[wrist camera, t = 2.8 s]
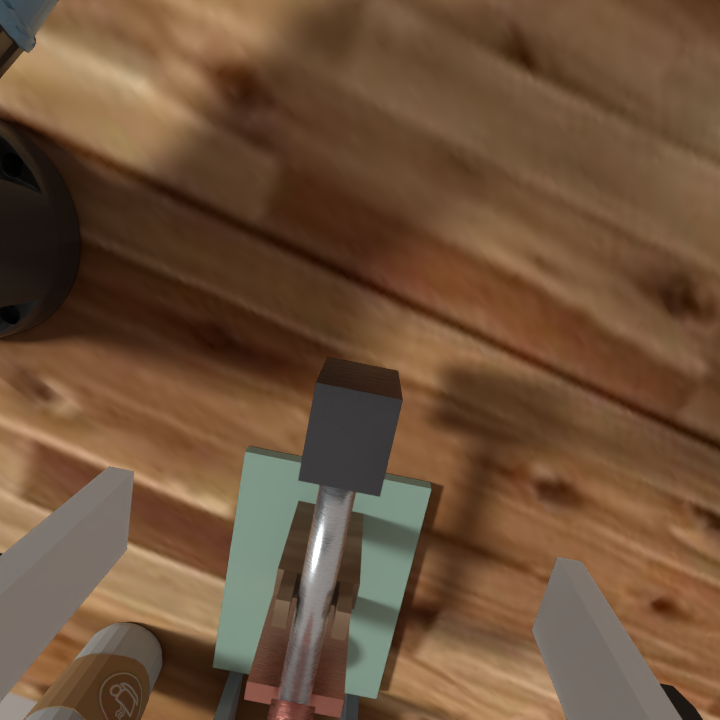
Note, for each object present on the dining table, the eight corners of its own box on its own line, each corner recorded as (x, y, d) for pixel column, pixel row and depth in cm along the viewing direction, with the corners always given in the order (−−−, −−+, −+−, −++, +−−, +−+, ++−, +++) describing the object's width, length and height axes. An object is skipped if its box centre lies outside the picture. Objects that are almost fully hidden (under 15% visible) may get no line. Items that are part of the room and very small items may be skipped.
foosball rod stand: (322, 332, 32) (269, 418, 17) (408, 349, 33) (437, 452, 17) (273, 601, 38) (198, 859, 22) (347, 615, 38) (325, 883, 22)
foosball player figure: (300, 493, 37) (268, 597, 26) (364, 506, 37) (358, 615, 26) (296, 514, 37) (263, 624, 27) (359, 526, 37) (352, 641, 27)
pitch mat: (248, 446, 36) (245, 451, 35) (430, 482, 36) (431, 488, 35) (216, 657, 41) (212, 667, 40) (376, 688, 41) (376, 699, 40)
